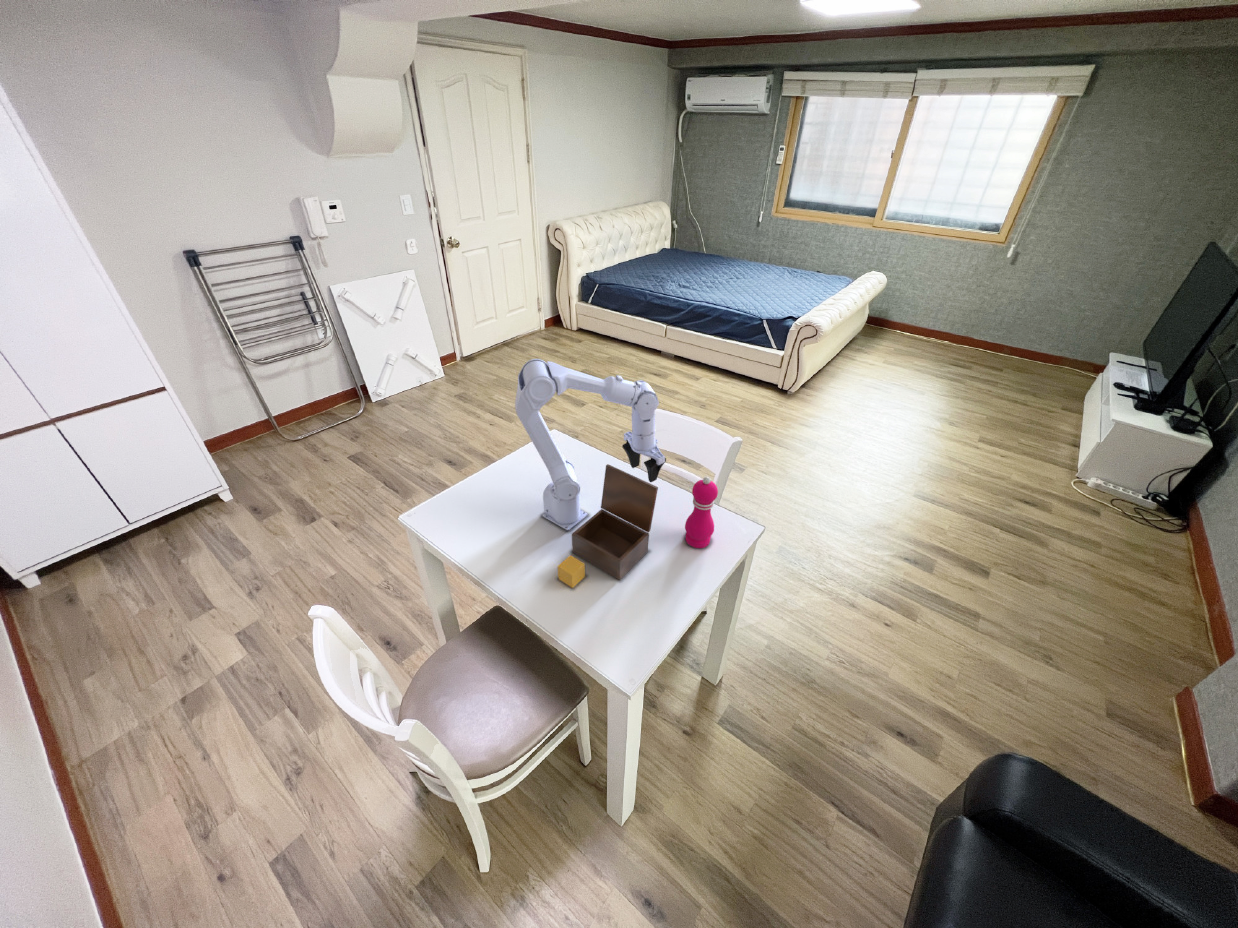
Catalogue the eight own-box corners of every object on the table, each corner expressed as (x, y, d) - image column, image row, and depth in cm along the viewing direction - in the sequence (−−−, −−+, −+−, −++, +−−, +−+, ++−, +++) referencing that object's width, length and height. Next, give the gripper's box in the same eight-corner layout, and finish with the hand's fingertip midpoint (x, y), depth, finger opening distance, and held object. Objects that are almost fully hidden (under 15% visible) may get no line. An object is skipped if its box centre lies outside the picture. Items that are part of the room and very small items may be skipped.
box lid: (656, 488, 111) (658, 487, 112) (605, 465, 118) (607, 464, 119) (648, 532, 117) (650, 531, 117) (600, 507, 124) (602, 506, 124)
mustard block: (558, 579, 113) (557, 566, 111) (571, 567, 116) (570, 554, 114) (572, 588, 111) (571, 575, 109) (585, 576, 114) (584, 563, 112)
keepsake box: (619, 580, 113) (620, 561, 110) (572, 552, 120) (571, 533, 117) (647, 551, 121) (649, 533, 117) (601, 526, 128) (601, 508, 124)
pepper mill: (704, 554, 120) (715, 491, 109) (678, 542, 124) (686, 480, 112) (716, 536, 125) (727, 474, 114) (690, 526, 128) (699, 464, 117)
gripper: (675, 436, 118) (673, 480, 126) (638, 412, 127) (639, 455, 135) (652, 447, 115) (652, 491, 123) (616, 421, 124) (618, 464, 132)
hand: (643, 473), depth 129 cm, fingers open, 7 cm apart
